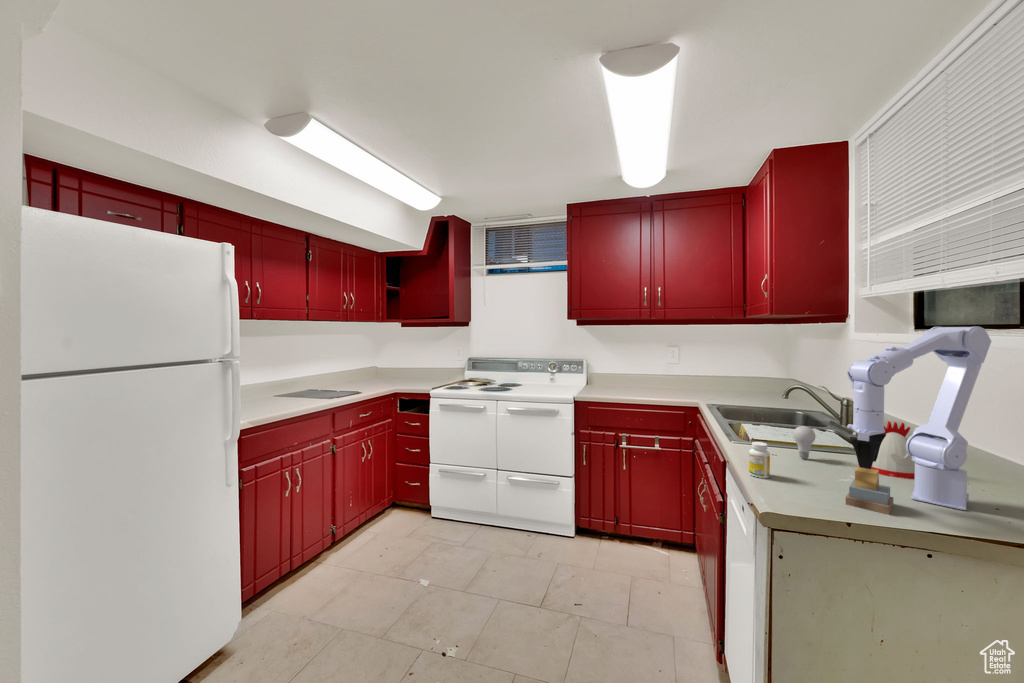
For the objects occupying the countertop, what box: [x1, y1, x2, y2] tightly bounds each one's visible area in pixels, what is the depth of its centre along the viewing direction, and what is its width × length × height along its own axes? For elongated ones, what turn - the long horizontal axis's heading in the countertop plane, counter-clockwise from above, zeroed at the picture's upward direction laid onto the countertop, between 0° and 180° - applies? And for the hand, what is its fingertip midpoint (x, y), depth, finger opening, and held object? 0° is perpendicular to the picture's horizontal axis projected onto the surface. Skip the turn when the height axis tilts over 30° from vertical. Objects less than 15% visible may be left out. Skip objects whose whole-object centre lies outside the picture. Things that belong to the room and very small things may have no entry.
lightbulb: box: [792, 425, 816, 460], centre depth 138 cm, size 6×6×11 cm
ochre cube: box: [854, 466, 880, 491], centre depth 103 cm, size 4×4×4 cm
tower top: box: [848, 479, 891, 505], centre depth 103 cm, size 7×7×2 cm
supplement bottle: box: [748, 441, 771, 479], centre depth 124 cm, size 5×5×10 cm
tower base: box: [845, 492, 894, 516], centre depth 103 cm, size 8×8×2 cm
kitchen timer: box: [871, 420, 915, 480], centre depth 126 cm, size 14×14×15 cm
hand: (867, 464), depth 103 cm, fingers open, 7 cm apart
